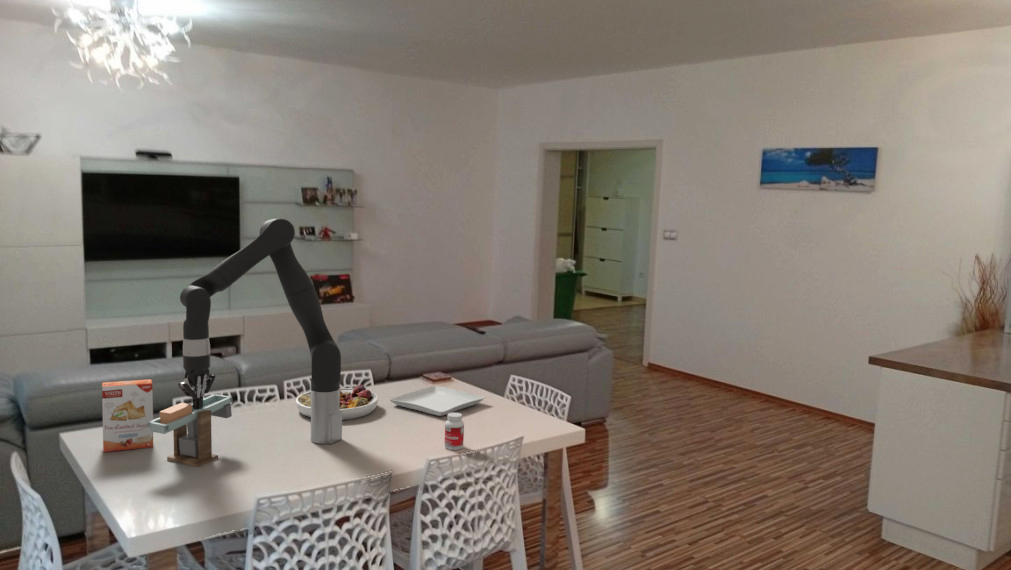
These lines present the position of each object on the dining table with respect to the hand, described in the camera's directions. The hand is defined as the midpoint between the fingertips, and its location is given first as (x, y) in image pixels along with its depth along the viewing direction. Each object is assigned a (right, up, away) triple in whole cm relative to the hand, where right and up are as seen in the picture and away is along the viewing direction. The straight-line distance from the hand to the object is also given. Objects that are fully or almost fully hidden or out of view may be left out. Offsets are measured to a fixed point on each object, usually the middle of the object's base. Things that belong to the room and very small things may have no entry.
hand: (198, 408), depth 222 cm
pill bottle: (+76, -16, +19) cm, 80 cm away
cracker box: (-25, -14, +8) cm, 30 cm away
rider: (-3, -2, -7) cm, 8 cm away
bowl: (+29, -10, +55) cm, 64 cm away
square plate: (+66, -10, +66) cm, 94 cm away
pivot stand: (-2, -15, 0) cm, 15 cm away
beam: (-1, -13, +1) cm, 13 cm away
